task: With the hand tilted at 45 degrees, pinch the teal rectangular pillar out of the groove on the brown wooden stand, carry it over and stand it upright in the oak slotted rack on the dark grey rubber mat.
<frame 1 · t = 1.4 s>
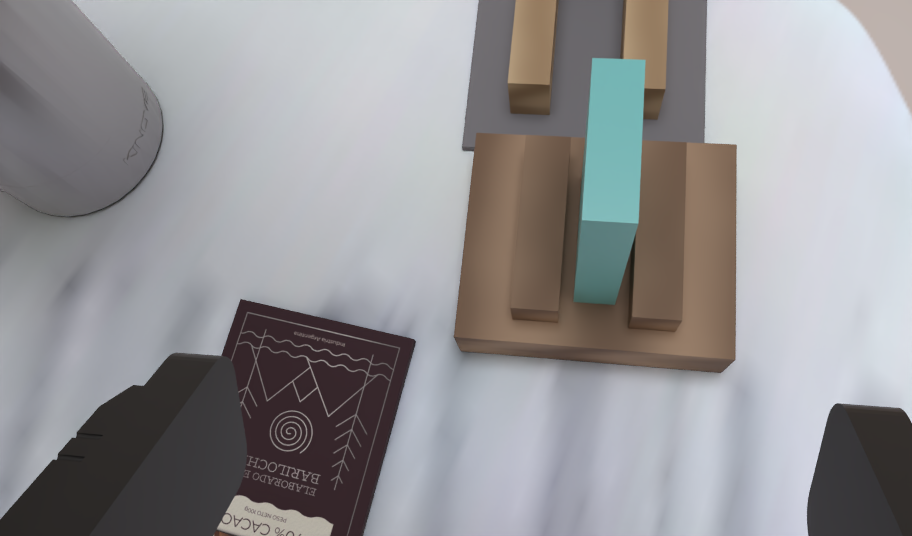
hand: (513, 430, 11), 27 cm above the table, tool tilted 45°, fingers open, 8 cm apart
brown wooden stand: (594, 260, 39), on the table
mat: (587, 52, 43), on the table
teal rectangular pillar: (597, 239, 37), point 3 cm above the table, touching brown wooden stand
rack: (587, 48, 42), resting on mat
chocolate bar: (276, 506, 38), on the table
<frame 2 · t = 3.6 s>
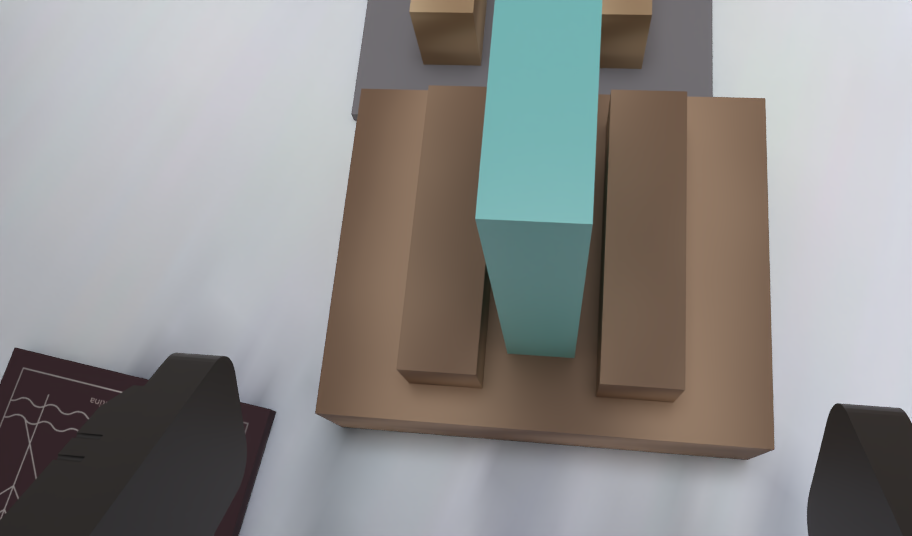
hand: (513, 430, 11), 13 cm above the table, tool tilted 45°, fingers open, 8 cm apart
brown wooden stand: (547, 282, 26), on the table
teal rectangular pillar: (547, 250, 23), point 3 cm above the table, touching brown wooden stand
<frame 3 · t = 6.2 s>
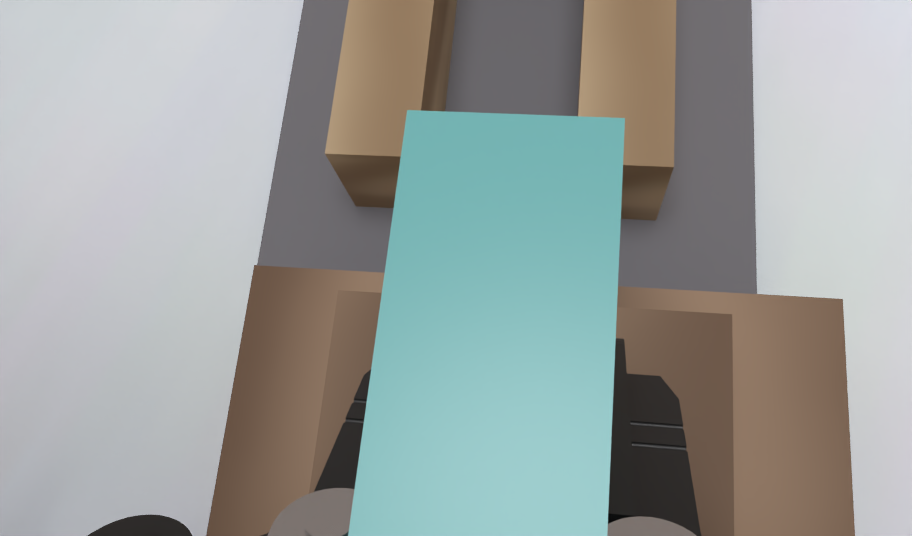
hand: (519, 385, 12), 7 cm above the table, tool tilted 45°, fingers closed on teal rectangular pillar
mat: (514, 79, 22), on the table
teal rectangular pillar: (523, 527, 15), point 3 cm above the table, touching gripper
rack: (513, 70, 21), resting on mat
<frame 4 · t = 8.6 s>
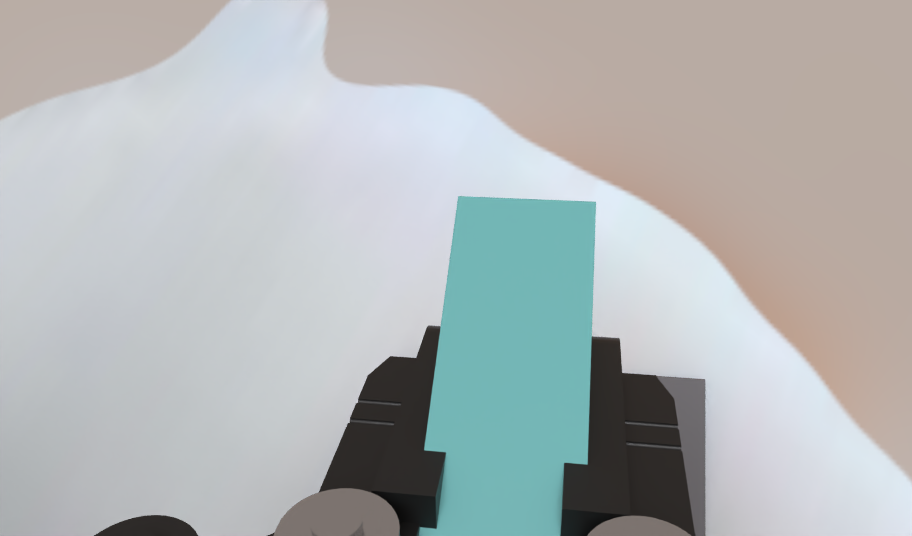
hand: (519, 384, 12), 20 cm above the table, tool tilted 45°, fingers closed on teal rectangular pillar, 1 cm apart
mat: (536, 530, 30), on the table
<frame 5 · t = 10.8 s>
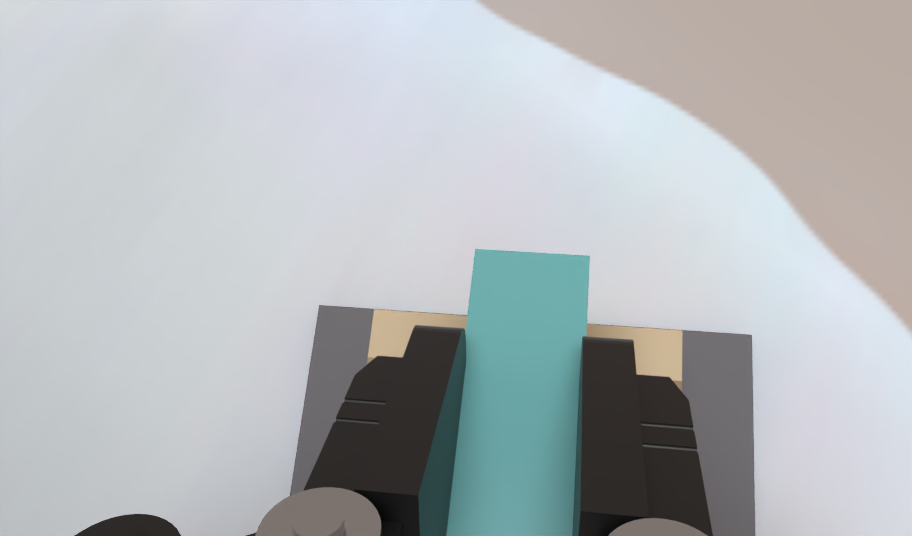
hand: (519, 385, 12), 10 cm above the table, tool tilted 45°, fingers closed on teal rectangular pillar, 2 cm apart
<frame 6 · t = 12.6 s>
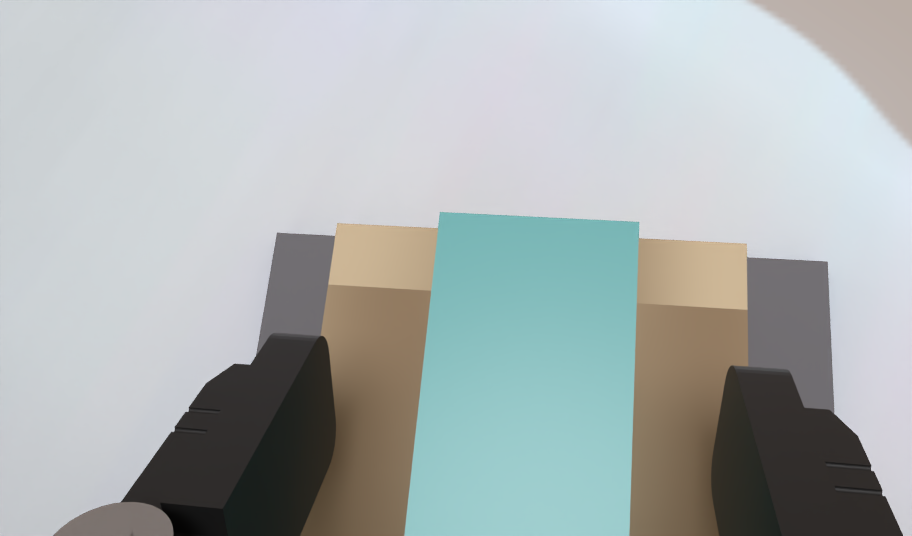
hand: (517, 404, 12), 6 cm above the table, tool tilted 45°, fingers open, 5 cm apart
mat: (521, 533, 16), on the table
rack: (520, 533, 16), resting on mat
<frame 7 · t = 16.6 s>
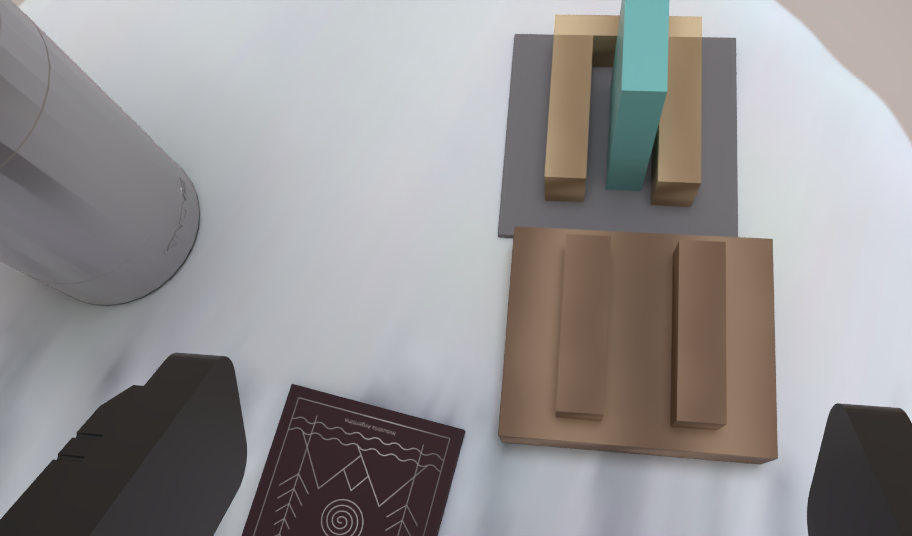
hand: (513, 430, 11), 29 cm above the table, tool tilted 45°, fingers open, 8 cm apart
brown wooden stand: (631, 349, 40), on the table
mat: (619, 137, 43), on the table
teal rectangular pillar: (625, 137, 43), resting on mat
rack: (619, 133, 43), resting on mat
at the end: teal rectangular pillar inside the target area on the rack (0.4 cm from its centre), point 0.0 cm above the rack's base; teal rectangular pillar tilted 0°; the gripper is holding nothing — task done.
